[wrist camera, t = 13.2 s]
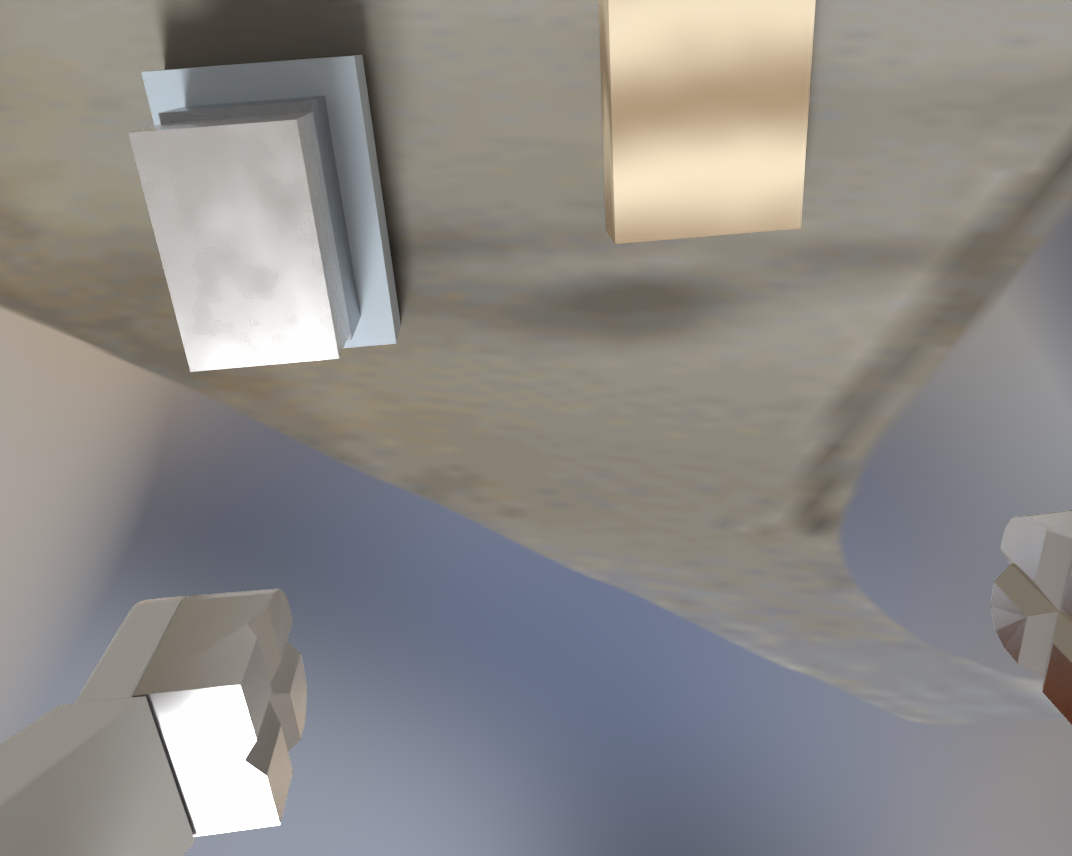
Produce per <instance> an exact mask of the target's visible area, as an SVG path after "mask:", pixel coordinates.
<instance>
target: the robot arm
mask: <svg viewBox="0 0 1072 856" xmlns="http://www.w3.org/2000/svg"><path fill="white" fill-rule="evenodd" d="M1001 550H1002V552H1003V553H1004V555H1005V556H1006V558H1007V559H1008V561H1009V562H1010V565H1009V566H1008V567H1007V568H1006V570H1005V571H1004V572H1003V573H1002V574H1001V575H1000V576H999V577H998V578H997V580H996V581H995V582H994V586H993V594H992V600H991V612H992V617H993V622H994V626H995V631H996V633H997V635H998V637H999V639H1000V641H1001V643H1002V645H1003V647H1004V648H1005V649H1006V651H1007V652H1008V653H1009V654H1010V655H1011V657H1012V658H1013V659H1014V660H1015V661H1016V663H1017V664H1019V665H1022V666H1023V667H1026V668H1028V669H1030V670H1032V671H1034V672H1036V673H1038V674H1040V675H1042V676H1044V678H1043V691H1042V692H1043V693H1044V694H1045V696H1046V697H1047V698H1048V699H1049V700H1050V701H1051V702H1052V703H1053V705H1054V706H1055V707H1056V708H1057V709H1058V710H1059V711H1060V712H1061V714H1062V715H1063V716H1064V717H1065V718H1066V719H1067V720H1068V722H1070V724H1071V725H1072V510H1069V511H1061V512H1052V513H1044V514H1036V515H1027V516H1019V517H1013V518H1012V519H1011V521H1010V522H1009V524H1008V525H1007V527H1006V528H1005V530H1004V535H1003V540H1002V544H1001ZM292 622H293V619H292V615H291V612H290V608H289V605H288V601H287V597H286V595H285V594H284V593H283V592H282V591H281V590H280V589H270V590H256V591H244V592H231V593H220V594H219V593H218V594H206V595H193V596H189V597H185V596H180V597H170V598H160V599H152V600H143V601H141V602H139V603H137V604H135V605H134V606H133V607H132V608H131V610H130V612H129V613H128V615H127V616H126V618H125V620H124V621H123V623H122V625H121V626H120V628H119V630H118V632H117V633H116V635H115V636H114V638H113V640H112V641H111V643H110V645H109V646H108V648H107V650H106V651H105V653H104V655H103V656H102V658H101V660H100V661H99V663H98V665H97V666H96V668H95V670H94V671H93V673H92V675H91V676H90V678H89V680H88V681H87V683H86V684H85V687H84V688H83V690H82V691H81V693H80V694H79V696H78V698H77V699H76V701H75V703H74V704H65V705H58V706H57V707H55V708H54V709H52V710H51V711H49V712H48V713H46V714H45V715H43V716H42V717H40V718H39V719H37V720H36V721H35V722H33V723H31V724H30V725H29V726H27V727H26V728H24V729H23V730H21V731H20V732H18V733H17V734H15V735H14V736H12V737H11V738H9V739H8V740H6V741H5V742H3V743H2V744H0V856H183V855H184V853H185V852H186V851H187V850H188V849H189V848H190V847H191V845H192V844H193V843H194V842H195V839H194V837H195V836H203V835H210V834H217V833H224V832H232V831H239V830H246V829H253V828H261V827H268V826H275V825H280V823H281V818H282V815H283V810H284V806H285V802H286V798H287V794H288V790H289V786H290V782H291V778H292V774H293V771H292V766H291V762H290V759H289V754H288V751H289V750H290V749H291V748H292V747H293V746H294V745H296V744H297V743H298V742H299V741H300V739H301V737H302V732H303V728H304V723H305V718H306V698H307V697H306V696H307V689H306V680H305V670H304V666H303V662H302V657H301V653H300V652H299V651H298V650H297V649H295V648H294V647H293V646H291V645H290V644H289V643H288V642H287V639H288V635H289V632H290V628H291V625H292Z"/></svg>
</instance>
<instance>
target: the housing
mask: <svg viewBox="0 0 1072 856" xmlns="http://www.w3.org/2000/svg"><path fill="white" fill-rule="evenodd" d="M158 115H159V119H160V123H161V124H158V125H155V126H151V127H148V128H144V129H140V130H137V131H133V132H130V133H128V134H129V137H130V141H131V145H132V149H133V153H134V157H135V160H136V164H137V168H138V172H139V176H140V180H141V184H142V187H143V191H144V195H145V199H146V203H147V207H148V210H149V214H150V218H151V222H152V226H153V230H154V233H155V237H156V241H157V245H158V249H159V253H160V257H161V260H162V264H163V268H164V272H165V276H166V280H167V283H168V287H169V291H170V295H171V299H172V303H173V306H174V310H175V314H176V318H177V322H178V326H179V329H180V333H181V337H182V341H183V345H184V349H185V353H186V356H187V360H188V364H189V368H190V372H193V371H204V370H216V369H227V368H238V367H249V366H260V365H272V364H283V363H294V362H305V361H317V360H328V359H339V358H340V355H341V353H342V350H343V348H344V345H345V343H346V340H352V338H353V335H354V333H355V330H356V328H357V325H358V323H359V320H360V317H361V314H360V308H359V302H358V296H357V290H356V284H355V278H354V271H353V265H352V259H351V253H350V247H349V241H348V235H347V229H346V222H345V216H344V210H343V204H342V198H341V192H340V186H339V180H338V174H337V167H336V161H335V155H334V149H333V143H332V137H331V131H330V125H329V119H328V112H327V106H326V100H325V96H314V97H301V98H289V99H276V100H263V101H250V102H237V103H225V104H212V105H199V106H186V107H181V108H177V109H173V110H169V111H165V112H161V113H158Z"/></svg>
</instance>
